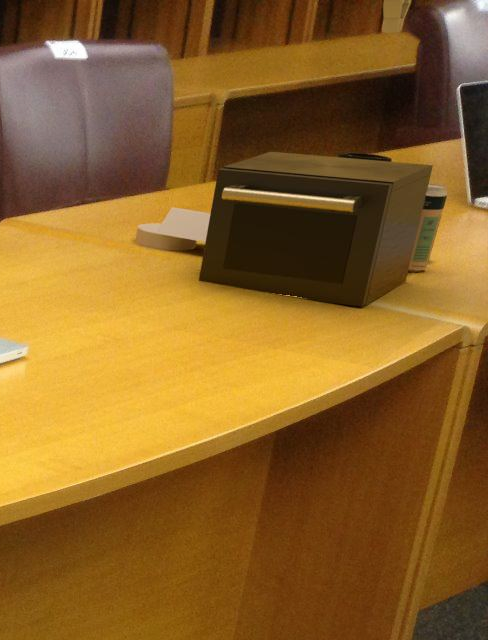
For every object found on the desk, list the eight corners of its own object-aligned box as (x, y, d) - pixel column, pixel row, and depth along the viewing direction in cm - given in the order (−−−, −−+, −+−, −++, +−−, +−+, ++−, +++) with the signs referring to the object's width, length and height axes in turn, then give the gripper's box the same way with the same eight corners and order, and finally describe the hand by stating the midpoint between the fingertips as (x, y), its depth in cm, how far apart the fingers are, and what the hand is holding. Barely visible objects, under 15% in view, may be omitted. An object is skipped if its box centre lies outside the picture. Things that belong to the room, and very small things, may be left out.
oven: (365, 305, 205) (393, 182, 198) (202, 283, 218) (222, 166, 211) (405, 281, 219) (433, 165, 212) (249, 262, 232) (270, 151, 225)
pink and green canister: (399, 264, 229) (421, 181, 224) (431, 270, 226) (455, 186, 220) (384, 268, 227) (406, 184, 221) (416, 274, 223) (440, 190, 218)
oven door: (351, 313, 201) (379, 189, 194) (185, 290, 213) (205, 172, 206) (365, 305, 205) (392, 183, 198) (201, 282, 218) (222, 168, 211)
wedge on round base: (228, 256, 236) (149, 242, 244) (238, 212, 233) (157, 199, 241) (204, 265, 230) (123, 250, 238) (213, 219, 227) (131, 206, 235)
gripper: (422, -87, 183) (396, 37, 189) (461, -86, 198) (436, 29, 204) (366, -86, 187) (342, 36, 193) (408, -86, 201) (385, 28, 207)
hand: (391, 32), depth 198 cm, fingers closed
